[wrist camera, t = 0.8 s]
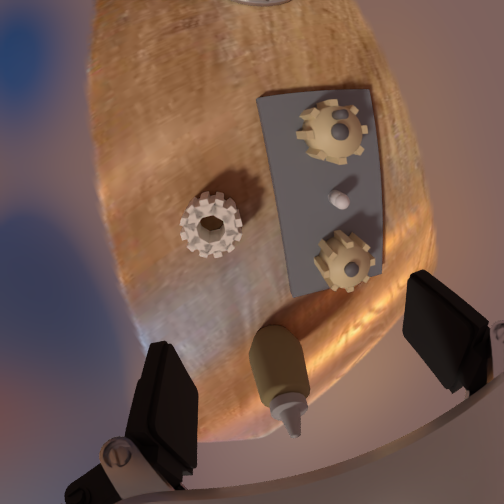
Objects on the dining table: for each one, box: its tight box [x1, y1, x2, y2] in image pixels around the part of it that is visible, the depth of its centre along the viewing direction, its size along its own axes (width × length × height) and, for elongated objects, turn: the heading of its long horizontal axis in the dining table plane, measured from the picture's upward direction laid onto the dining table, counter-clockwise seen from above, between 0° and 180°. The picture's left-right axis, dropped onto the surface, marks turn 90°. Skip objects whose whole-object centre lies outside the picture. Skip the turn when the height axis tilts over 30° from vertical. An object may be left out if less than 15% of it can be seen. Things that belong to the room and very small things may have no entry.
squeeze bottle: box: [249, 325, 310, 438], centre depth 34 cm, size 8×8×18 cm
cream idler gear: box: [180, 191, 242, 258], centre depth 31 cm, size 7×7×4 cm
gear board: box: [256, 89, 383, 298], centre depth 30 cm, size 26×14×8 cm, turn 11°
